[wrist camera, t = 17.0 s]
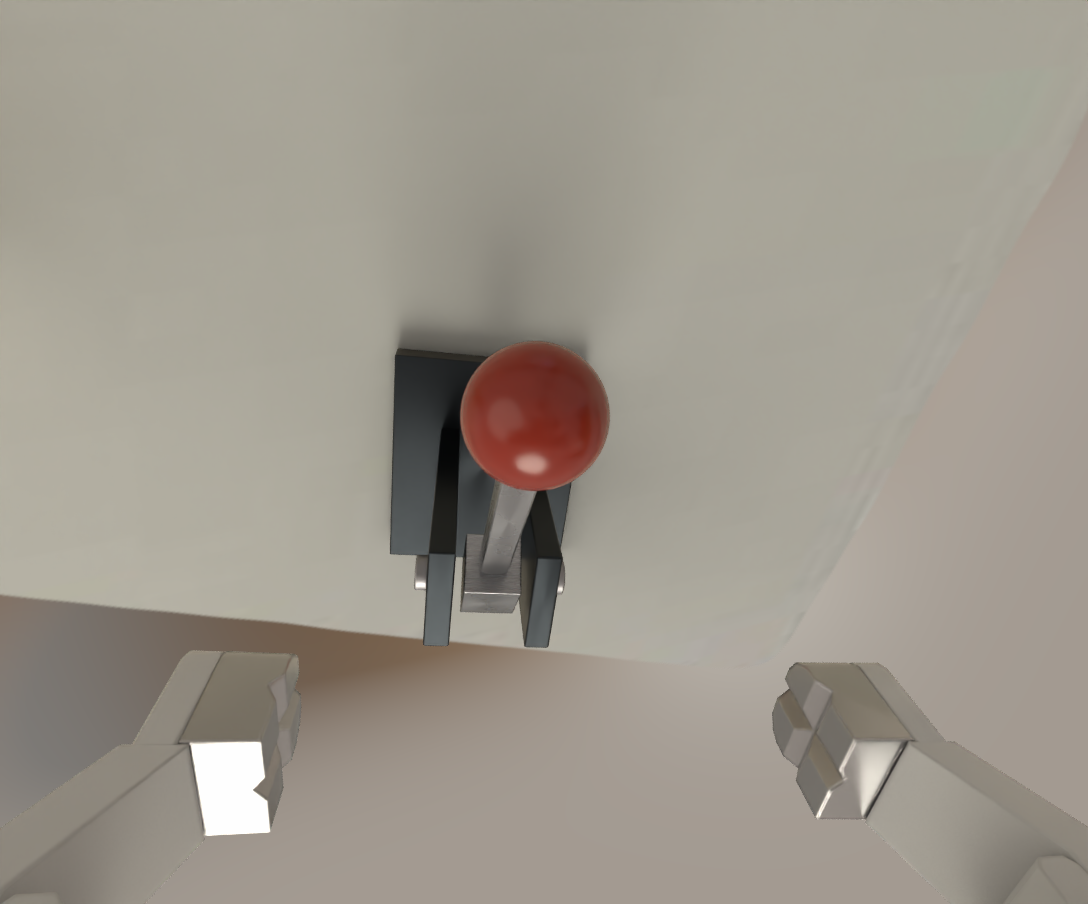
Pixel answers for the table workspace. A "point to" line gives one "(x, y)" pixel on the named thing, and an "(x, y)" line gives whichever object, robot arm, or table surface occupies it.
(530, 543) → the bracket
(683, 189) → the table surface
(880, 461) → the table surface
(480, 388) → the lever
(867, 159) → the table surface
